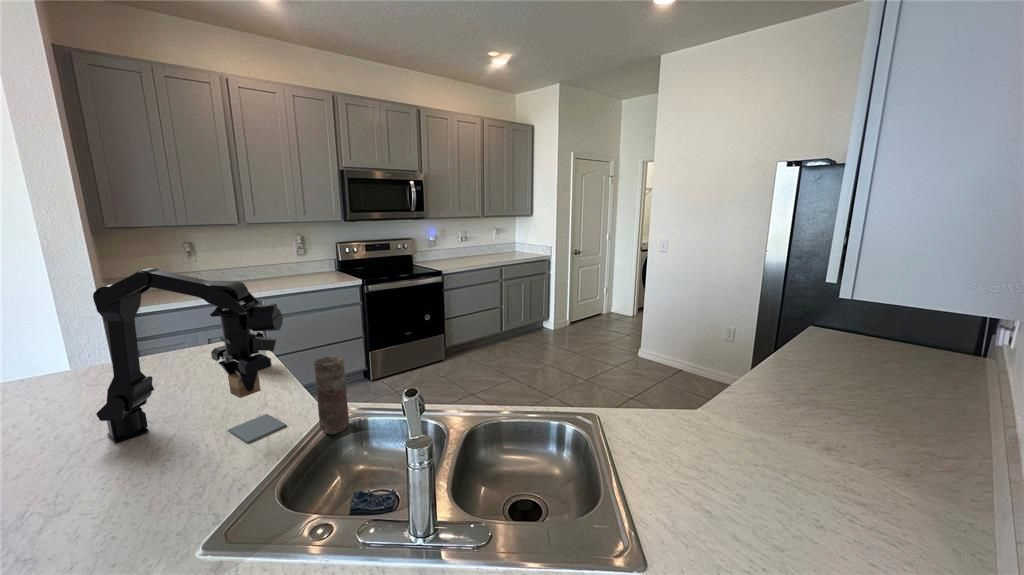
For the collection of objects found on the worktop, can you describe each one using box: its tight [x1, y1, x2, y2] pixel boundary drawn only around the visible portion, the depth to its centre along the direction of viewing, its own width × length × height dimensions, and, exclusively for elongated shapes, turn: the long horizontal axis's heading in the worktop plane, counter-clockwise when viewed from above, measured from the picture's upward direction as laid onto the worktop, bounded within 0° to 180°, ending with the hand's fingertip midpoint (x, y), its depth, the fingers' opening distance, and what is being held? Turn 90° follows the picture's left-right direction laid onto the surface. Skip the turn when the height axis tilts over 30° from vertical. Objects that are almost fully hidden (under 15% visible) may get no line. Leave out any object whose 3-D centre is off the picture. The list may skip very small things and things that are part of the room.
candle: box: [313, 356, 350, 435], centre depth 109 cm, size 8×7×20 cm
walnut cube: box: [227, 372, 261, 399], centre depth 107 cm, size 5×5×5 cm
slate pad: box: [227, 413, 287, 445], centre depth 110 cm, size 10×10×1 cm
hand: (245, 388), depth 107 cm, fingers closed on walnut cube, 5 cm apart
